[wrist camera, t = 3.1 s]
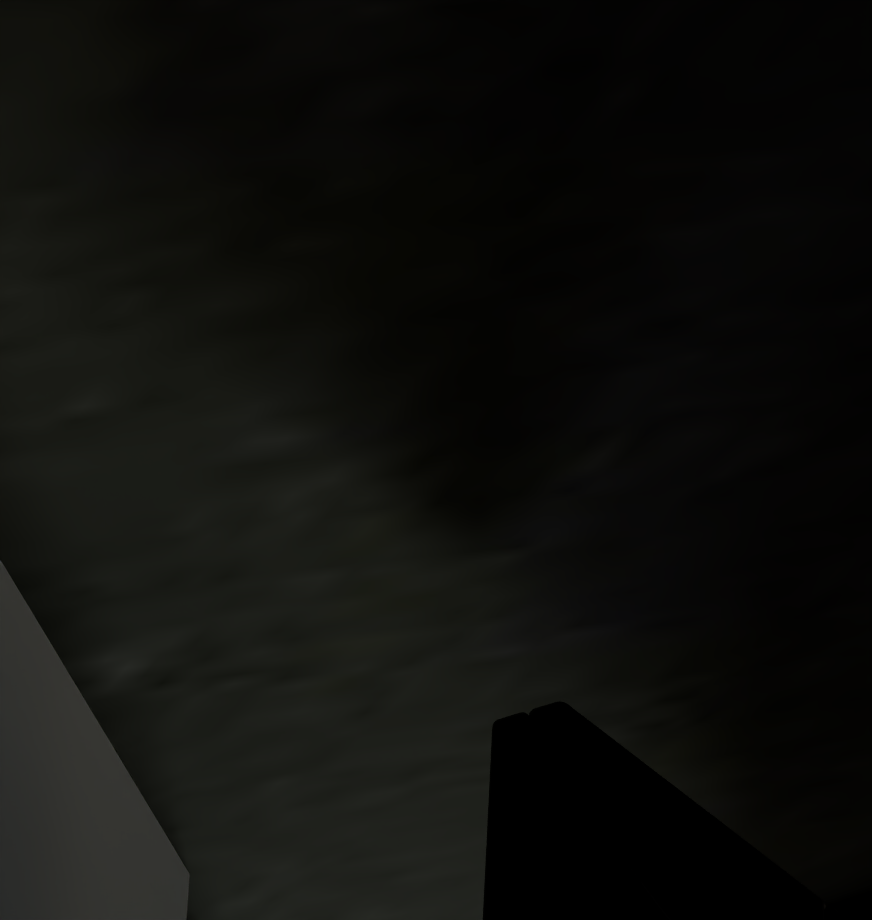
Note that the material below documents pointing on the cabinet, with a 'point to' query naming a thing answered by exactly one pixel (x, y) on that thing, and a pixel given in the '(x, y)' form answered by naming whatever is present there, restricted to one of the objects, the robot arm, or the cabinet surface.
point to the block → (70, 797)
